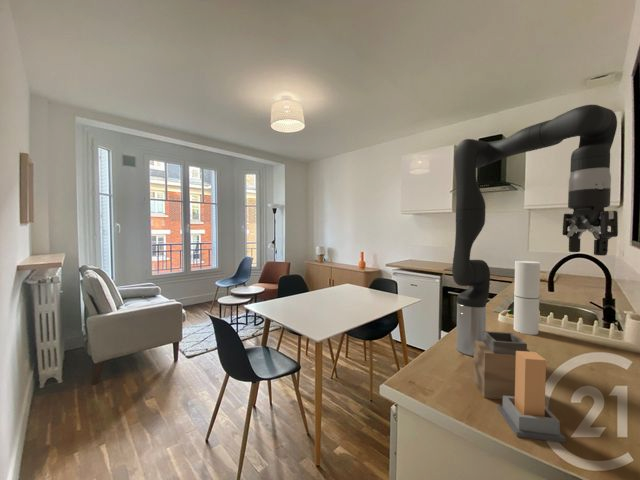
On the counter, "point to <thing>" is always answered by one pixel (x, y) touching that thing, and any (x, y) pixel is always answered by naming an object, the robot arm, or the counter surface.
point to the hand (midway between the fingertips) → (586, 253)
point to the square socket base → (496, 363)
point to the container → (526, 297)
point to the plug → (530, 383)
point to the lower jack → (530, 422)
